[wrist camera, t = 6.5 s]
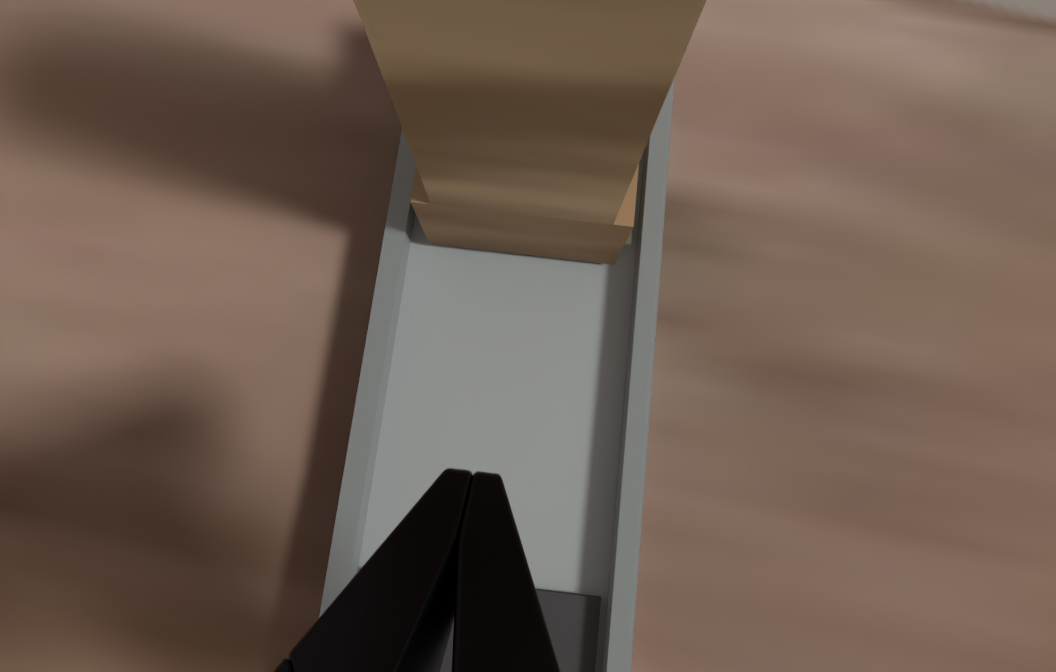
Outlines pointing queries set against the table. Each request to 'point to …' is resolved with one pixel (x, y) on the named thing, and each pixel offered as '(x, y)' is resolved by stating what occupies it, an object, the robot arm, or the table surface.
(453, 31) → the stepped wooden block
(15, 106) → the table surface
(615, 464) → the track
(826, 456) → the table surface
